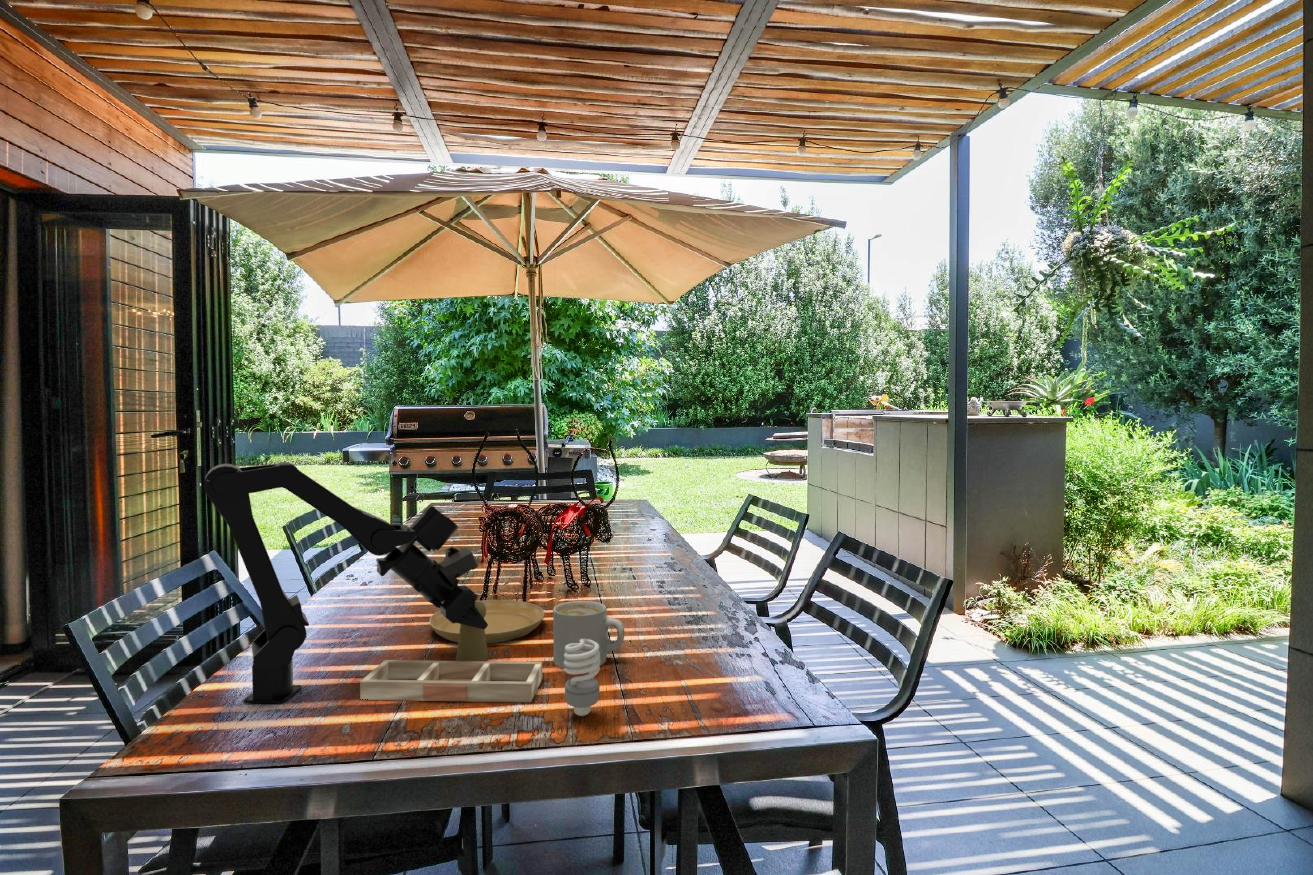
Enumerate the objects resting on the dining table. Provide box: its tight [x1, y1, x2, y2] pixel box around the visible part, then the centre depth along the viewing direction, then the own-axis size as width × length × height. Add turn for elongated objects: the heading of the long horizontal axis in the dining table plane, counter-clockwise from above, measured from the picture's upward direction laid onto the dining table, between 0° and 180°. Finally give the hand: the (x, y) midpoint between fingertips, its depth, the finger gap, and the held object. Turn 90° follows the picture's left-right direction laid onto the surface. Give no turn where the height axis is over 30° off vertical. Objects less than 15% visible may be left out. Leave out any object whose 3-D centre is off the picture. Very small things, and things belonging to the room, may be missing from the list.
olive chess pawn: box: [455, 600, 489, 661], centre depth 136 cm, size 6×6×11 cm
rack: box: [359, 659, 543, 703], centre depth 122 cm, size 10×28×3 cm, turn 89°
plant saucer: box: [428, 599, 545, 644], centre depth 155 cm, size 24×24×3 cm
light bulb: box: [563, 639, 601, 718], centre depth 111 cm, size 6×6×12 cm
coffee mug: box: [552, 600, 625, 669], centre depth 135 cm, size 13×10×10 cm
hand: (479, 621), depth 136 cm, fingers open, 8 cm apart
